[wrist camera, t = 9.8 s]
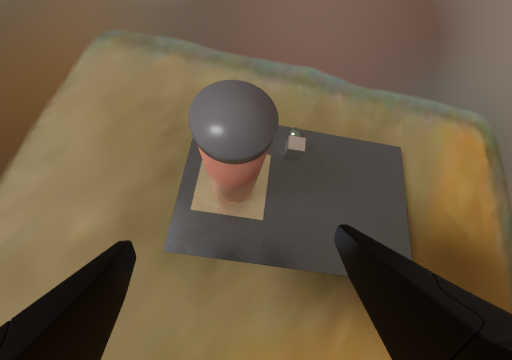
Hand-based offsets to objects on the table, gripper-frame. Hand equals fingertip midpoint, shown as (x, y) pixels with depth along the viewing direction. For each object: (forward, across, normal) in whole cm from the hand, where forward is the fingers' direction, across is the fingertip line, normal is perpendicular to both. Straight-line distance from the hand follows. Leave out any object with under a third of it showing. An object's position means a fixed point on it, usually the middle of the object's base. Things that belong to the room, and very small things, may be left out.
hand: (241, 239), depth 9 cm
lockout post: (+12, 0, +3) cm, 12 cm away
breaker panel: (+12, -7, +5) cm, 15 cm away
